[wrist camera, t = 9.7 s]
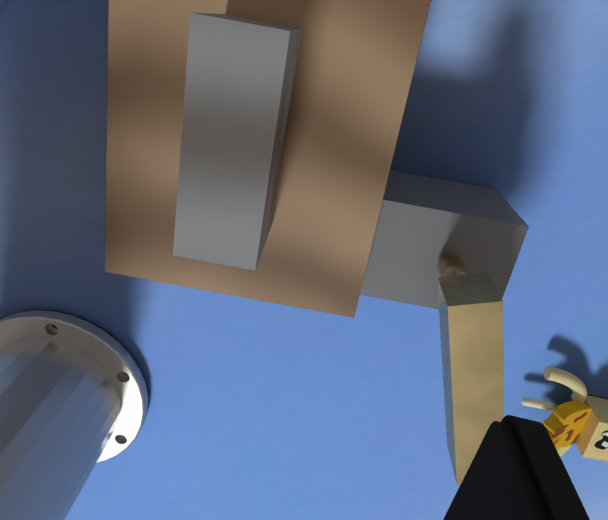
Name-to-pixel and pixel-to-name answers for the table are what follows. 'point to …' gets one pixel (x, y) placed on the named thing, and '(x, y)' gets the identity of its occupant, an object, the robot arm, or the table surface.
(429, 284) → the grey l-shaped block
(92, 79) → the table surface
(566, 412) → the character toy
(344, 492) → the table surface
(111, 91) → the walnut lid
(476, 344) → the brass bar
